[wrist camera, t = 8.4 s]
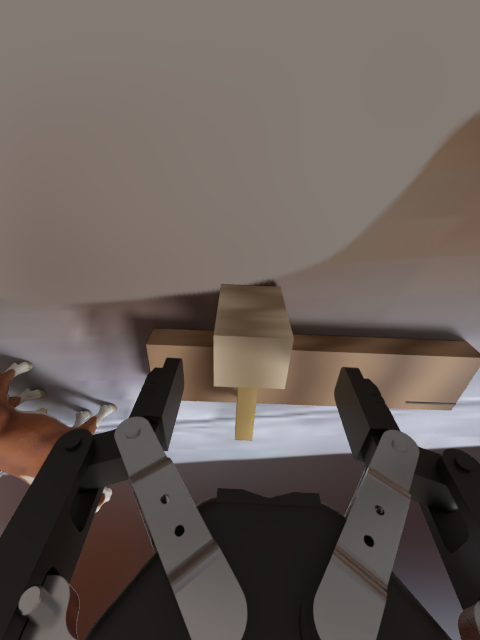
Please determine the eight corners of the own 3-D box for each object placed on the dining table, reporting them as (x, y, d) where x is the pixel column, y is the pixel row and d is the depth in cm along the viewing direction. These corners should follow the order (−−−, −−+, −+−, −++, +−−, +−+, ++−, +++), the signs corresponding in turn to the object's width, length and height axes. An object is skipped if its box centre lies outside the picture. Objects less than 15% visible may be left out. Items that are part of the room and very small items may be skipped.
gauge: (280, 286, 19) (293, 338, 14) (266, 389, 24) (272, 454, 19) (221, 284, 19) (213, 335, 14) (220, 387, 24) (214, 452, 19)
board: (466, 341, 22) (486, 358, 20) (436, 391, 25) (451, 411, 23) (153, 328, 21) (145, 344, 19) (161, 381, 24) (154, 400, 22)
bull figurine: (125, 442, 29) (88, 537, 22) (-10, 372, 24) (-113, 466, 17) (150, 423, 27) (119, 519, 20) (11, 343, 22) (-94, 434, 15)
